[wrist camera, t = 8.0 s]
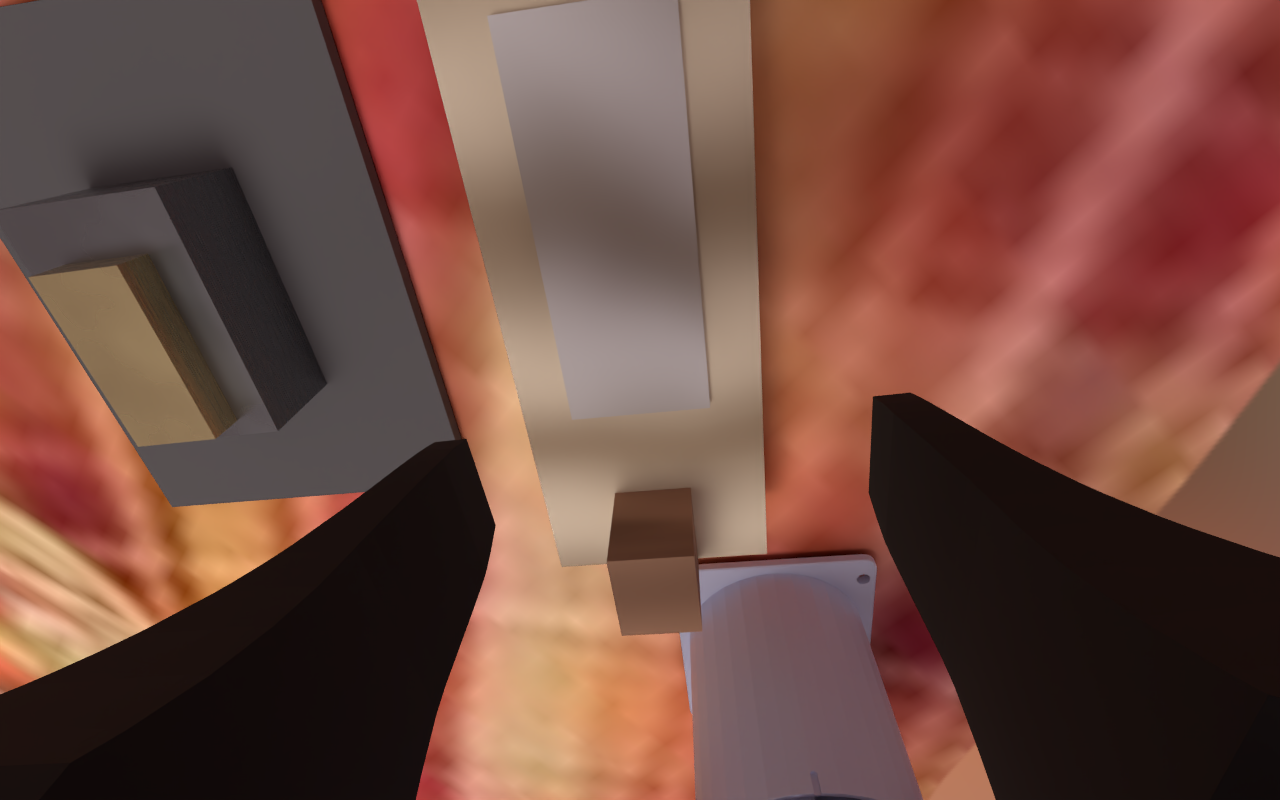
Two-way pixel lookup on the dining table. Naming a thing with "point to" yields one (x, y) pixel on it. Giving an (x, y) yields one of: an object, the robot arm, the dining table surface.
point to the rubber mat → (277, 195)
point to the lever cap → (171, 304)
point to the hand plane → (621, 271)
